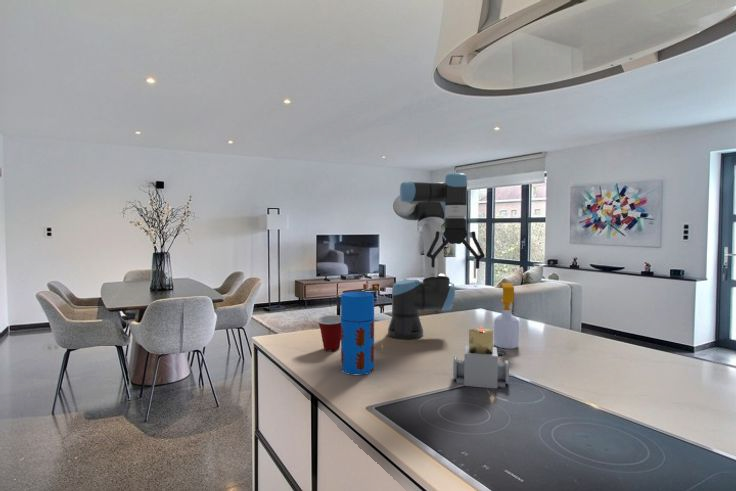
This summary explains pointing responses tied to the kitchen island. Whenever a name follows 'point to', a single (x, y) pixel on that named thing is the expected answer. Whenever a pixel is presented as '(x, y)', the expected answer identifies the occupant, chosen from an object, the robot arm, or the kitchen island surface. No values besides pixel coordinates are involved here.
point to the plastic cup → (330, 331)
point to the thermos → (357, 332)
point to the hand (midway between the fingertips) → (455, 277)
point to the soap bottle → (506, 322)
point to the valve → (481, 340)
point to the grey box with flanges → (481, 370)
